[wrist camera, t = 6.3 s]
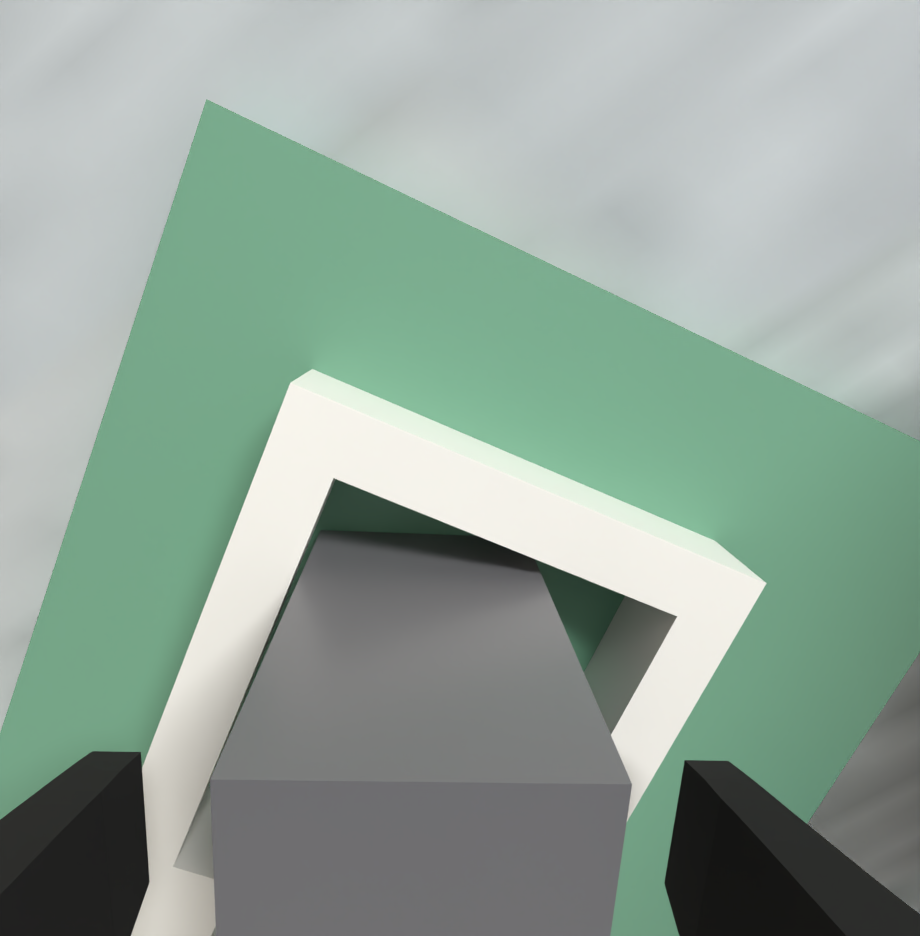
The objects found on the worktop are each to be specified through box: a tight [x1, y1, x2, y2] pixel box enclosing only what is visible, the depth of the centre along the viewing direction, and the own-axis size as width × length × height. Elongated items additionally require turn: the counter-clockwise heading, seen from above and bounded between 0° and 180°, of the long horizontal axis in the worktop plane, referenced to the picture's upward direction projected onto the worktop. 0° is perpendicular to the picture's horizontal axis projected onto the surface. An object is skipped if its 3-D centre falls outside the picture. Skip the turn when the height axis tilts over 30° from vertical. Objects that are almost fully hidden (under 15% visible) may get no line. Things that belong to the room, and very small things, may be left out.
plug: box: [210, 530, 632, 936], centre depth 9 cm, size 4×6×6 cm, turn 176°
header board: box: [0, 99, 920, 936], centre depth 12 cm, size 15×15×3 cm
